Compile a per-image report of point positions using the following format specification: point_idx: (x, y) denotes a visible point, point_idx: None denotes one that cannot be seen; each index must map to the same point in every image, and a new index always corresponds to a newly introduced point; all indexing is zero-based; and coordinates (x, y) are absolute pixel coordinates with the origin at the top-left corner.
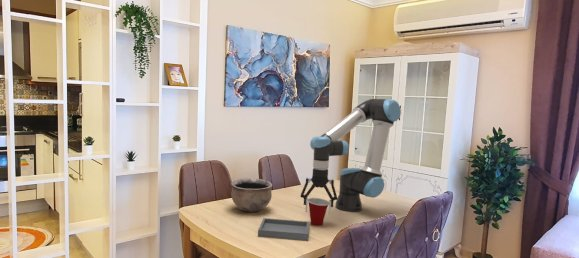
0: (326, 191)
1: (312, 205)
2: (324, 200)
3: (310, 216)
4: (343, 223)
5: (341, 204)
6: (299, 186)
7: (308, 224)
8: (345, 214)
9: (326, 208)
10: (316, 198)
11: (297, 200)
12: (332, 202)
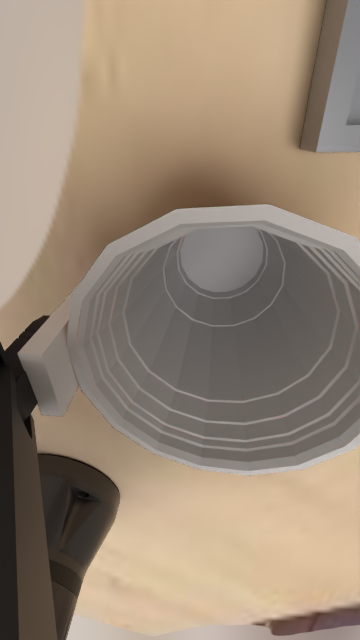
0: (9, 556)
1: (332, 255)
2: (143, 432)
3: (289, 257)
4: (41, 301)
5: (82, 497)
6: (259, 614)
7: (346, 29)
8: (60, 424)
9: (120, 298)
10: (240, 465)
11: (290, 535)
12: (15, 352)
